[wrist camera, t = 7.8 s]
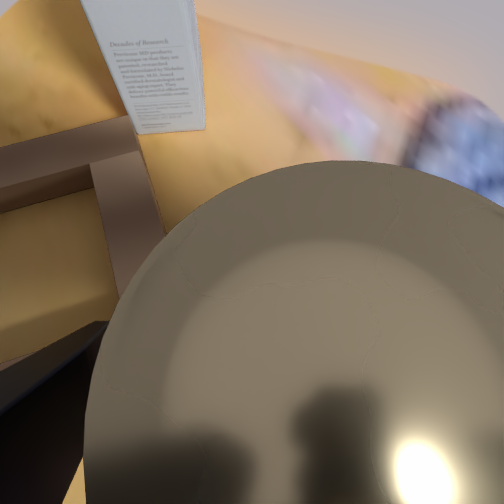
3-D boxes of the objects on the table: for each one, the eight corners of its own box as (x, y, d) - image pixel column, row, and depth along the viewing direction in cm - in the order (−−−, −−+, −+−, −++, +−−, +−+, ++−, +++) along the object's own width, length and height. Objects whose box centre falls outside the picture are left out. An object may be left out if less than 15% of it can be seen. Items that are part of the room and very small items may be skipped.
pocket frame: (205, 364, 16) (200, 359, 14) (-126, 486, 14) (-176, 496, 12) (137, 137, 21) (128, 114, 19) (-113, 204, 19) (-148, 185, 17)
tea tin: (290, 523, 13) (522, 1179, 2) (181, 411, 14) (-40, 423, 3) (376, 397, 15) (761, 367, 4) (271, 308, 16) (319, 93, 5)
